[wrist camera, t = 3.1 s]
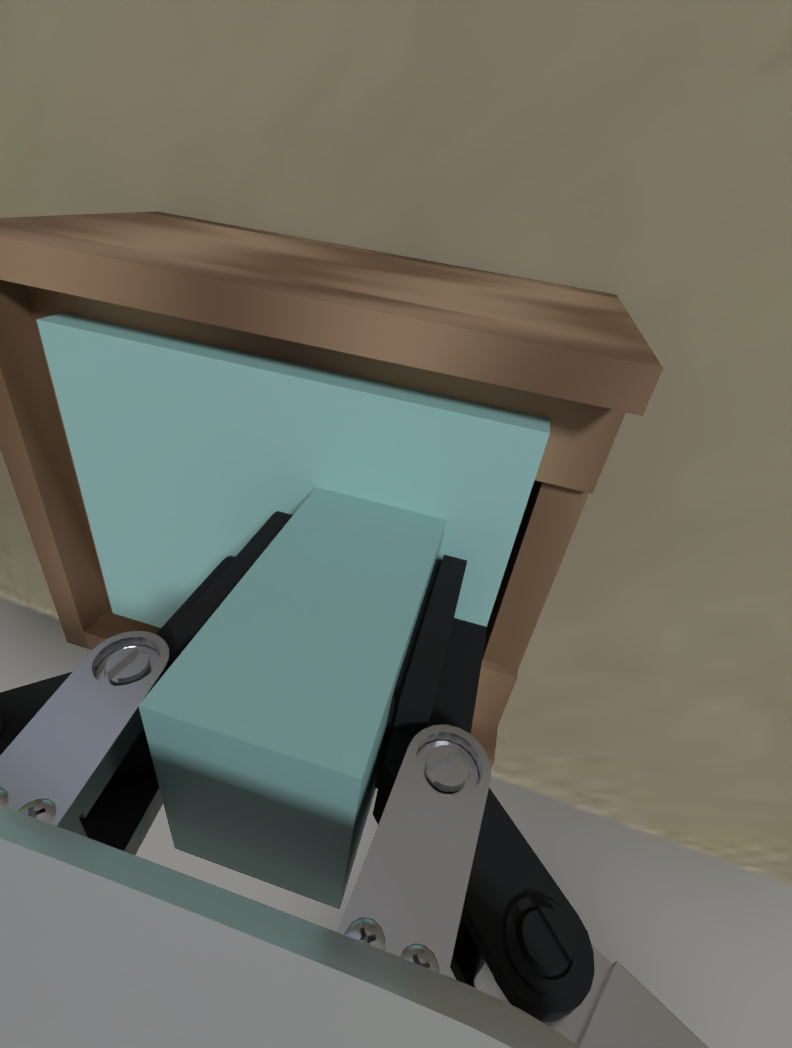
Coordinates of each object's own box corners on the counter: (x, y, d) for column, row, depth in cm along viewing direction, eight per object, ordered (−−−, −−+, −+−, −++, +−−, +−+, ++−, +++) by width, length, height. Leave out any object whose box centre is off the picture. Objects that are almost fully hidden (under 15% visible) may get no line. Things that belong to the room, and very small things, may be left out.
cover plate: (550, 418, 10) (546, 689, 5) (461, 696, 15) (407, 987, 10) (65, 312, 12) (-381, 419, 6) (129, 596, 17) (-82, 798, 11)
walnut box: (616, 294, 14) (662, 368, 8) (506, 611, 21) (487, 776, 15) (156, 211, 16) (-78, 221, 10) (193, 526, 23) (67, 642, 17)
